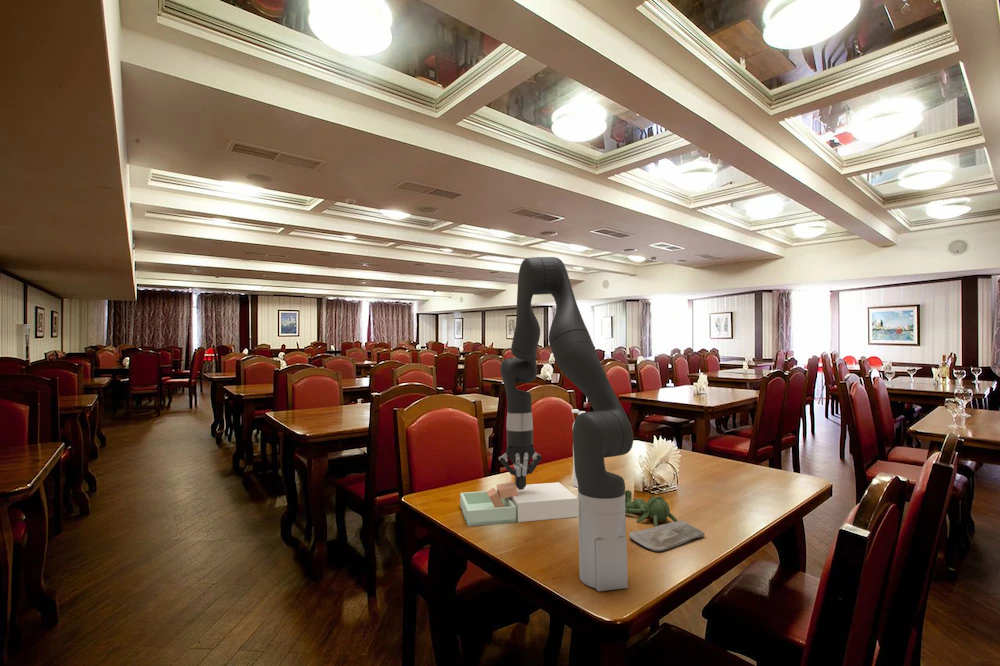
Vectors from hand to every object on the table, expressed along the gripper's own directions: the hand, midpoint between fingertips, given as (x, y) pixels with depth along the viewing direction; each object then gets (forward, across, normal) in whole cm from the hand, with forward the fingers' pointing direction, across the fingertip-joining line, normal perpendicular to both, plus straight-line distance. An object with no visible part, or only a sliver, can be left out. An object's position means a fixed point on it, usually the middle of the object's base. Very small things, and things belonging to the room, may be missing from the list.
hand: (520, 488), depth 134 cm
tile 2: (+1, -4, 0) cm, 4 cm away
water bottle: (+7, +26, +20) cm, 33 cm away
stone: (+7, +30, -27) cm, 41 cm away
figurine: (+7, +32, -12) cm, 35 cm away
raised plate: (+6, +6, 0) cm, 8 cm away
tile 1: (+2, -6, 0) cm, 6 cm away
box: (+6, -10, 0) cm, 12 cm away
